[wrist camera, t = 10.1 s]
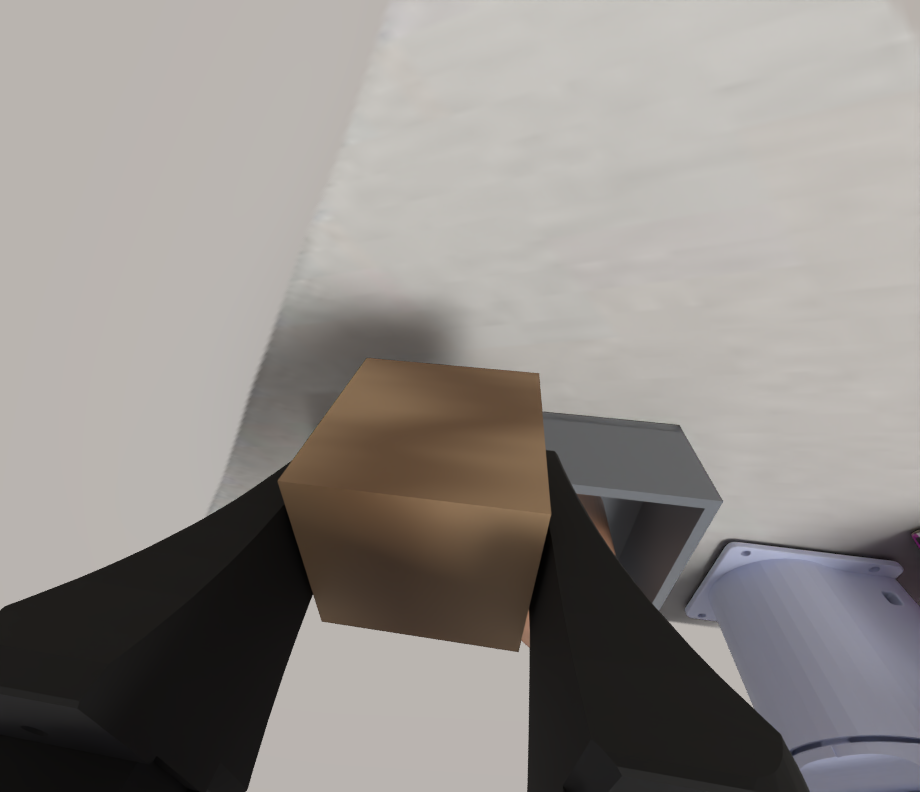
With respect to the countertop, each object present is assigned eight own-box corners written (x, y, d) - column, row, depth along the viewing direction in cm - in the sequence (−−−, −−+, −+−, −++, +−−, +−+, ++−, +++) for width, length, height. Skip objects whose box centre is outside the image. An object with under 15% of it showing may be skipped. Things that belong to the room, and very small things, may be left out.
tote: (679, 425, 19) (723, 501, 15) (614, 575, 27) (632, 655, 22) (353, 393, 21) (312, 454, 17) (374, 543, 28) (349, 612, 24)
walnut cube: (539, 373, 11) (551, 514, 7) (518, 497, 14) (518, 652, 9) (366, 358, 11) (277, 480, 7) (380, 480, 14) (321, 621, 10)
